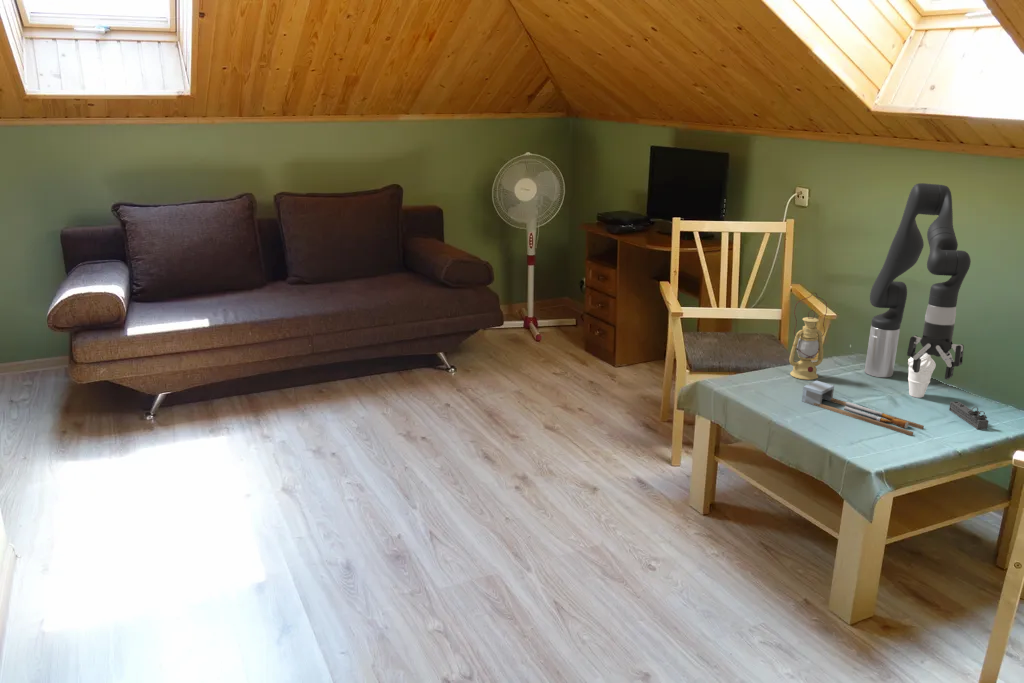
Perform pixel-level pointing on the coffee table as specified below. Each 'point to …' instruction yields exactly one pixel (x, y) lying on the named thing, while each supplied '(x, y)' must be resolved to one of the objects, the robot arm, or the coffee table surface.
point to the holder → (821, 390)
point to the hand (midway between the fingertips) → (931, 375)
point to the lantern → (807, 348)
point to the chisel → (890, 420)
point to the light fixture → (969, 415)
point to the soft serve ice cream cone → (920, 376)
